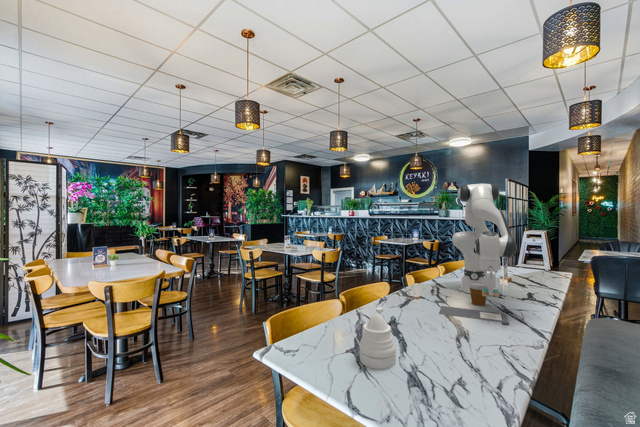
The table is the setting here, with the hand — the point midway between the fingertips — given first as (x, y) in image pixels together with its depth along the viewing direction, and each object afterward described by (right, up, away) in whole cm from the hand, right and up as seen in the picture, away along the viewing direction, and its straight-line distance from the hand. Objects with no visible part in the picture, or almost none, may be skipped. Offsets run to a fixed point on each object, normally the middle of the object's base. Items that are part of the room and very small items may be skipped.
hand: (490, 293), depth 146 cm
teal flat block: (0, -1, 0) cm, 1 cm away
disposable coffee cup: (+4, -12, +19) cm, 23 cm away
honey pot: (-62, -14, -38) cm, 75 cm away
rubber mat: (-7, -12, +4) cm, 15 cm away
